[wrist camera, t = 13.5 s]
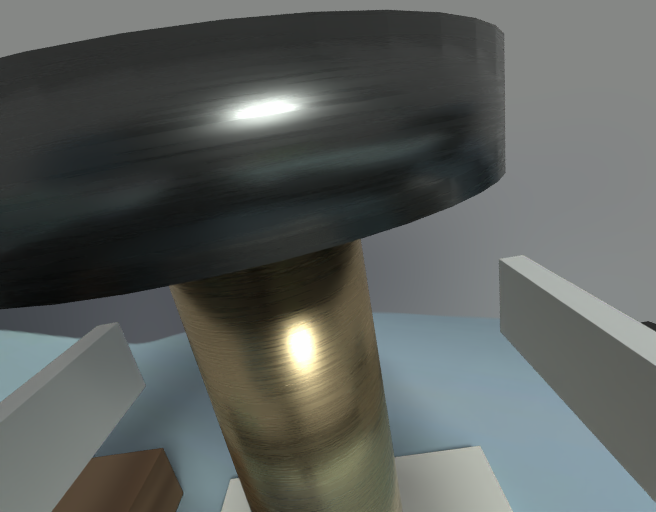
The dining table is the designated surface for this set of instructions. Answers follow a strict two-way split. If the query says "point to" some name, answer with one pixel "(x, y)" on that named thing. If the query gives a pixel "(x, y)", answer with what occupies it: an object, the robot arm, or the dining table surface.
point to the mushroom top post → (253, 208)
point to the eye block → (124, 485)
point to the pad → (429, 484)
